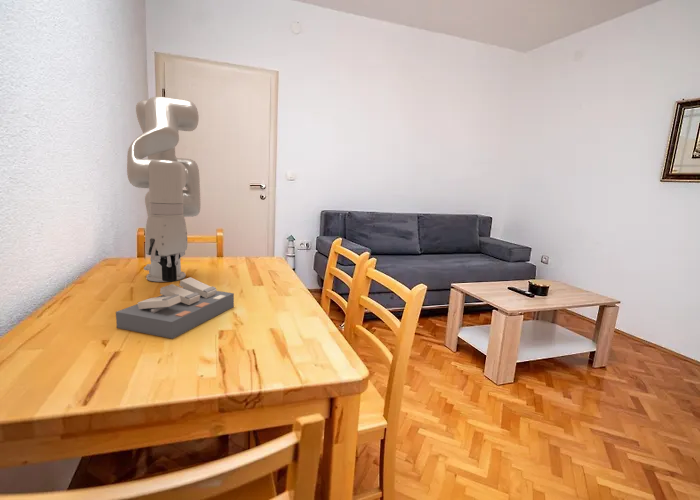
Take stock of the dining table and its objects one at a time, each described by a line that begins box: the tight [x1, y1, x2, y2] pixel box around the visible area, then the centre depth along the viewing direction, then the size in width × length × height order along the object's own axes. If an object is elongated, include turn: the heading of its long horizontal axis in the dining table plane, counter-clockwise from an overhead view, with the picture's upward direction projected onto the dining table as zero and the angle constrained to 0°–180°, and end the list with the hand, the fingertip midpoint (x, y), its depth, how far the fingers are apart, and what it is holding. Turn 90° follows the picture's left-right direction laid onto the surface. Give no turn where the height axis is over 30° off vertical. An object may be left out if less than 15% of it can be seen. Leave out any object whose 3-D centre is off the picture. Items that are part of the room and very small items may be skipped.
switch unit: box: [115, 287, 235, 340], centre depth 96 cm, size 16×24×5 cm, turn 164°
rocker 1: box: [137, 294, 181, 309], centre depth 89 cm, size 9×4×2 cm, turn 74°
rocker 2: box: [159, 283, 200, 305], centre depth 96 cm, size 9×4×2 cm, turn 74°
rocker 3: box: [178, 276, 218, 298], centre depth 102 cm, size 9×4×2 cm, turn 74°
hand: (169, 280), depth 96 cm, fingers closed
